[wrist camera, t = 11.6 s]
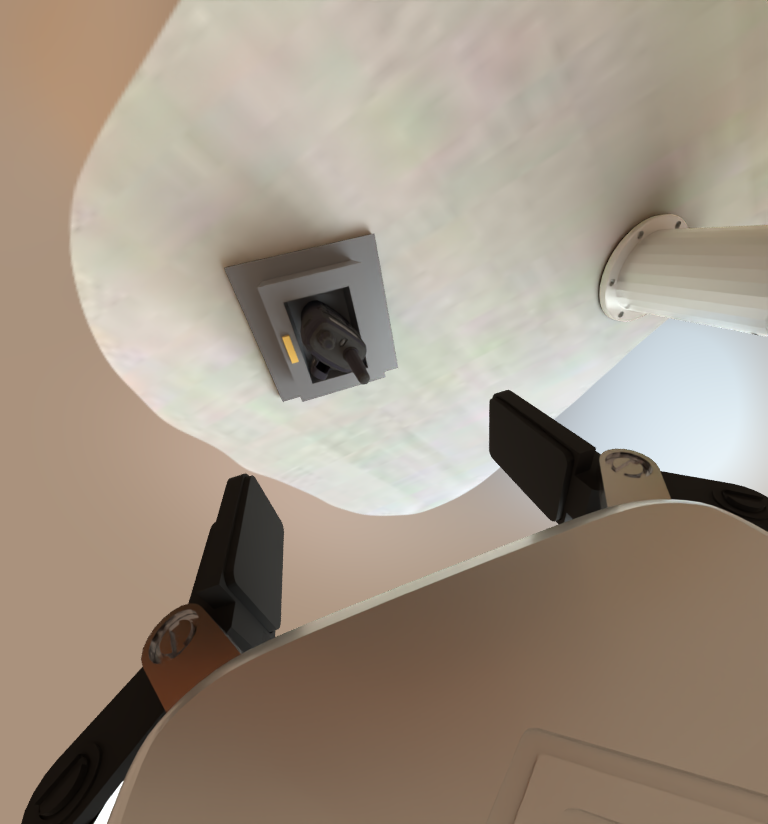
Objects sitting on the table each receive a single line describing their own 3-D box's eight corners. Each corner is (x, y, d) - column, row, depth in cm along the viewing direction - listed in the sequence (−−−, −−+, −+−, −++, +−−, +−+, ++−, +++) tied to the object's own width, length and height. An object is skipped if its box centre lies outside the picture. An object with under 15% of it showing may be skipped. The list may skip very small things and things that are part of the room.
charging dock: (371, 233, 28) (390, 231, 23) (395, 364, 36) (413, 385, 31) (226, 267, 27) (209, 272, 21) (283, 397, 34) (281, 426, 29)
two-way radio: (355, 323, 31) (398, 375, 19) (332, 357, 32) (359, 428, 20) (309, 291, 28) (323, 326, 16) (286, 329, 30) (282, 390, 17)
